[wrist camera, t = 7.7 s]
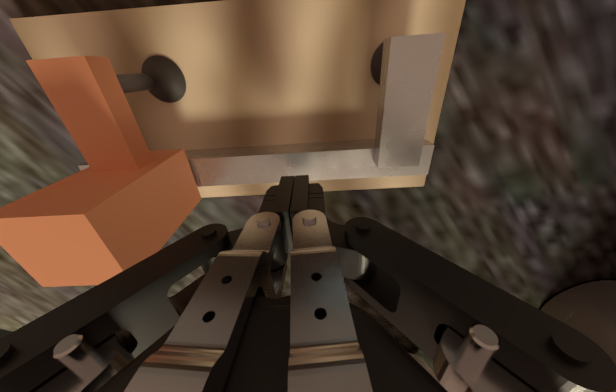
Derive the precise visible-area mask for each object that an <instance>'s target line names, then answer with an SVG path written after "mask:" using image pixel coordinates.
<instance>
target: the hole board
mask: <svg viewBox="0 0 616 392" xmlns="http://www.w3.org/2000/svg"><path fill="white" fill-rule="evenodd" d="M465 1H466V0H223V1H212V2H200V3H188V4H177V5H165V6H154V7H142V8H130V9H119V10H107V11H95V12H84V13H72V14H60V15H49V16H37V17H26V18H14V19H9V20H10V22H11V23H12V25H13V27H14V28H15V30H16V32H17V34H18V35H19V37H20V39H21V40H22V42H23V44H24V45H25V47H26V49H27V51H28V52H29V54H30V56H31V57H32V59H33V60H36V59H49V58H61V57H74V56H101V57H108V58H109V60H110V63H111V65H112V67H113V69H114V72H115V74H135V73H145V74H148V75H149V76H150V77H151V78H152V80H153V82H154V86H153V88H152V89H150V90H144V91H137V92H131V93H124V95H125V97H126V99H127V101H128V104H129V106H130V108H131V110H132V113H133V115H134V117H135V120H136V122H137V124H138V126H139V129H140V131H141V133H142V136H143V138H144V140H145V142H146V145H147V147H148V149H149V151H153V150H170V149H184V150H197V149H214V148H230V147H247V146H264V145H281V144H297V143H314V142H331V141H348V140H365V139H375V132H376V121H377V110H378V98H379V87H380V76H381V65H382V53H383V42H384V39H386V38H389V37H394V36H407V35H420V34H433V33H446V34H445V39H444V44H443V49H442V54H441V59H440V64H439V69H438V73H437V78H436V83H435V88H434V93H433V98H432V103H431V108H430V113H429V118H428V123H427V128H426V133H425V138H424V139H426V140H427V141H429V142H431V143H432V144H433V143H434V139H435V135H436V130H437V126H438V121H439V117H440V112H441V108H442V103H443V99H444V95H445V90H446V86H447V81H448V77H449V72H450V68H451V64H452V59H453V55H454V50H455V46H456V41H457V37H458V32H459V28H460V24H461V19H462V15H463V10H464V6H465ZM425 179H426V175H409V176H390V177H371V178H352V179H333V180H314V181H309V183H319V184H320V185H321V186H322V187H323V191H341V190H360V189H380V188H399V187H419V186H424V183H425ZM274 185H279V182H277V183H258V184H239V185H220V186H201V187H198V190H199V193H200V196H201V198H203V197H223V196H242V195H262V194H266V191H267V190H268V189H269V188H270V187H271V186H274Z"/></svg>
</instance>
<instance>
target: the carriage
mask: <svg viewBox="0 0 616 392" xmlns="http://www.w3.org/2000/svg"><path fill="white" fill-rule="evenodd" d="M26 62H27V63H28V65H29V67H30V68H31V70H32V72H33V73H34V75H35V77H36V78H37V80H38V81H39V83H40V85H41V86H42V88H43V90H44V91H45V93H46V95H47V96H48V98H49V100H50V101H51V103H52V105H53V106H54V108H55V110H56V111H57V113H58V115H59V116H60V118H61V120H62V121H63V123H64V125H65V126H66V128H67V130H68V131H69V133H70V135H71V136H72V138H73V140H74V141H75V143H76V145H77V146H78V148H79V150H80V151H81V153H82V155H83V156H84V158H85V160H86V161H87V163H88V165H89V166H90V167H88V168H86V169H84V170H82V171H79V172H77V173H75V174H73V175H71V176H68V177H66V178H64V179H62V180H60V181H58V182H55V183H53V184H51V185H49V186H47V187H44V188H42V189H40V190H38V191H36V192H34V193H31V194H29V195H27V196H25V197H23V198H21V199H18V200H16V201H14V202H12V203H10V204H7V205H5V206H3V207H1V208H0V245H1V246H2V247H3V248H4V249H5V250H6V251H7V252H8V253H9V254H10V255H11V256H12V257H13V258H14V259H15V260H16V261H17V262H18V263H19V264H20V265H21V266H22V267H23V268H24V269H25V270H26V271H27V272H28V273H29V274H30V275H31V276H32V277H33V278H34V279H35V280H36V281H37V282H38V283H39V284H40V285H41V286H42V287H55V286H82V285H99V284H101V283H102V282H104V281H106V280H108V279H110V278H111V277H113V276H115V275H117V274H119V273H120V272H122V271H124V270H126V269H128V268H130V267H131V266H133V265H135V264H137V263H139V262H140V261H142V260H144V259H146V258H148V257H149V256H151V255H153V254H155V253H157V252H158V251H159V250H160V249H161V248H162V247H163V245H164V244H165V243H166V242H167V240H168V239H169V238H170V237H171V236H172V234H173V233H174V232H175V231H176V229H177V228H178V227H179V226H180V224H181V223H182V222H183V221H184V220H185V218H186V217H187V216H188V215H189V213H190V212H191V211H192V210H193V209H194V207H195V206H196V205H197V204H198V202H199V201H200V200H201V196H200V193H199V190H198V187H197V185H196V182H195V179H194V176H193V173H192V171H191V168H190V165H189V162H188V159H187V157H186V154H185V151H184V149H170V150H153V151H149V149H148V147H147V145H146V142H145V140H144V138H143V136H142V133H141V131H140V129H139V126H138V124H137V122H136V120H135V117H134V115H133V113H132V110H131V108H130V106H129V104H128V101H127V99H126V97H125V95H124V93H131V92H137V91H144V90H150V89H152V88H153V86H154V82H153V80H152V78H151V77H150V76H149V75H148V74H145V73H135V74H115V72H114V69H113V67H112V65H111V63H110V60H109V58H108V57H101V56H74V57H61V58H49V59H36V60H26Z"/></svg>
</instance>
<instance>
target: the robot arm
mask: <svg viewBox="0 0 616 392" xmlns="http://www.w3.org/2000/svg"><path fill="white" fill-rule="evenodd" d="M288 253H291V295H290V296H286V297H282V298H281V294H282V289H283V284H284V280H285V275H286V271H287V257H288ZM199 266H202V268H203V270H204V272H205V274H204V275H203V276H201V277H200V278H198V279H197V280H195V281H194V282H193V283H191V284H190V285H188V286H187V287H186V288H184V289H183V290H181V291H180V292H178V293H177V294H176V295H174V296H172V297H167V292H168V290H169V288H170V287H171V286H172V285H173V284H174V283H175V282H177V281H178V280H180V279H181V278H183V277H184V276H186V275H187V274H189V273H190V272H192V271H193V270H195V269H196V268H198V267H199ZM343 277H344V280H345V282H346V283H347V284H348V285H349V286H350V287H351V288H352V289H353V290H354V291H355V292H356V293H358V294H359V295H360V296H361V297H362V298H363V299H364V300H365V301H367V302H368V303H369V304H370V305H371V306H372V307H373V308H374V309H376V310H377V311H378V312H379V313H380V314H381V315H382V316H383V317H385V318H386V319H387V320H388V321H389V322H390V323H391V324H393V325H394V326H395V327H396V328H397V329H398V330H399V331H400V332H402V333H403V334H404V335H405V336H406V337H407V338H408V339H409V340H411V341H412V342H413V343H414V344H415V345H416V346H417V347H418V348H420V349H421V350H422V351H423V352H424V353H425V354H426V355H427V356H429V357H430V358H431V359H432V360H433V368H434V372H435V375H436V377H437V379H438V381H439V382H438V381H437V380H436V379H435V378H434V377H433V376H432V375H431V374H430V373H429V372H428V371H427V370H426V369H425V368H424V367H423V366H422V365H420V364H419V363H418V362H417V361H416V360H415V359H414V358H413V357H412V356H411V355H410V354H409V353H408V352H407V351H406V350H405V349H404V348H403V347H402V346H401V345H400V344H399V343H398V342H397V341H396V340H395V339H394V338H393V337H392V336H391V335H390V334H389V333H388V332H387V331H386V330H385V329H384V328H383V327H382V326H381V325H380V324H379V323H378V322H377V321H376V320H375V319H374V318H373V317H371V316H370V315H369V314H368V313H366V312H365V311H363V310H362V309H360V308H359V307H357V306H355V305H353V304H351V303H349V302H348V298H347V294H346V289H345V285H344V281H343ZM0 392H616V281H614V280H601V281H594V282H589V283H585V284H581V285H578V286H576V287H573V288H570V289H568V290H566V291H564V292H562V293H560V294H558V295H556V296H555V297H553V298H552V299H551V300H549V301H548V302H547V303H546V304H545V305H544V306H543V307H542V309H541V310H539V309H537V308H535V307H533V306H531V305H530V304H528V303H526V302H524V301H522V300H520V299H519V298H517V297H515V296H513V295H511V294H509V293H507V292H506V291H504V290H502V289H500V288H498V287H496V286H495V285H493V284H491V283H489V282H487V281H485V280H483V279H482V278H480V277H478V276H476V275H474V274H472V273H471V272H469V271H467V270H465V269H463V268H461V267H459V266H458V265H456V264H454V263H452V262H450V261H448V260H447V259H445V258H443V257H441V256H439V255H437V254H435V253H434V252H432V251H430V250H428V249H426V248H424V247H423V246H421V245H419V244H417V243H415V242H413V241H412V240H410V239H408V238H406V237H404V236H402V235H400V234H399V233H397V232H395V231H393V230H391V229H389V228H388V227H386V226H384V225H382V224H380V223H378V222H376V221H375V220H372V219H370V218H365V217H357V218H353V219H351V220H349V221H348V222H347V223H346V224H345V225H340V224H336V223H333V222H331V221H330V220H328V219H327V218H326V216H325V207H324V196H323V187H322V186H321V185H320V184H319V183H309V175H297V176H281V179H280V182H279V185H274V186H271V187H270V188H269V189H268V190H267V191H266V194H265V197H264V199H263V202H262V205H261V208H260V210H259V213H258V214H255V215H253V216H252V217H251V218H249V220H248V221H247V223H246V225H245V227H244V228H242V229H238V230H234V231H230V232H228V230H227V227H226V226H225V225H223V224H210V225H206V226H204V227H202V228H200V229H198V230H196V231H194V232H193V233H191V234H189V235H187V236H185V237H184V238H182V239H180V240H178V241H176V242H175V243H173V244H171V245H169V246H167V247H166V248H164V249H162V250H160V251H158V252H157V253H155V254H153V255H151V256H149V257H148V258H146V259H144V260H142V261H140V262H139V263H137V264H135V265H133V266H131V267H130V268H128V269H126V270H124V271H122V272H120V273H119V274H117V275H115V276H113V277H111V278H110V279H108V280H106V281H104V282H102V283H101V284H99V285H97V286H95V287H93V288H92V289H90V290H88V291H86V292H84V293H83V294H81V295H79V296H77V297H75V298H74V299H72V300H70V301H68V302H66V303H65V304H63V305H61V306H59V307H57V308H56V309H54V310H52V311H50V312H48V313H47V314H45V315H43V316H41V317H39V318H38V319H36V320H34V321H32V322H30V323H28V324H27V325H25V326H23V327H21V328H19V329H18V330H16V331H14V332H12V333H11V334H9V335H7V336H5V337H3V338H1V339H0Z"/></svg>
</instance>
